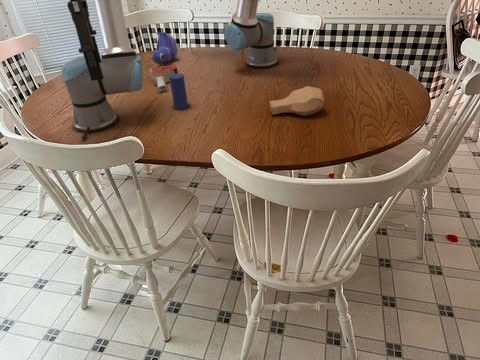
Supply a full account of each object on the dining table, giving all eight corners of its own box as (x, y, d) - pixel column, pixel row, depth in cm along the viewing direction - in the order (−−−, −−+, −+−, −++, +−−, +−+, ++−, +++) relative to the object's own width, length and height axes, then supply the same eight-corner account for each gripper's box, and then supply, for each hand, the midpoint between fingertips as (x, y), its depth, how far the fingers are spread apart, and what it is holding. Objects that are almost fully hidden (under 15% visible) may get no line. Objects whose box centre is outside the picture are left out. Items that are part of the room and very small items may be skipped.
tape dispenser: (162, 96, 154) (191, 78, 166) (160, 85, 150) (189, 67, 163) (133, 88, 161) (162, 71, 174) (130, 77, 158) (160, 60, 170)
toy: (165, 64, 198) (145, 69, 175) (161, 31, 191) (139, 33, 169) (182, 63, 196) (164, 69, 173) (178, 30, 189) (159, 32, 167)
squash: (328, 116, 127) (328, 95, 121) (272, 126, 129) (270, 106, 123) (321, 99, 135) (321, 79, 128) (269, 109, 137) (266, 89, 130)
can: (190, 105, 141) (186, 74, 134) (180, 110, 138) (175, 79, 131) (181, 102, 144) (176, 72, 137) (171, 107, 141) (166, 76, 134)
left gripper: (86, -25, 67) (115, 84, 79) (86, -35, 86) (109, 54, 98) (43, -21, 65) (80, 90, 77) (53, -32, 84) (81, 58, 96)
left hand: (97, 70), depth 88 cm, fingers open, 13 cm apart
